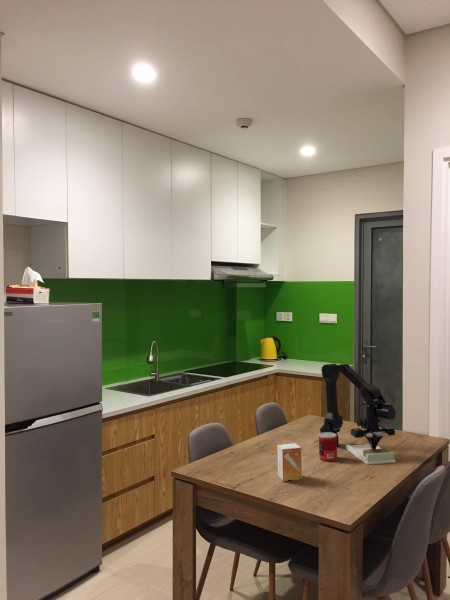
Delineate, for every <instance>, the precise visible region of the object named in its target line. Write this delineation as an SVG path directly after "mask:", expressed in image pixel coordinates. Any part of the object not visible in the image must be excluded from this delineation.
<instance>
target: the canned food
mask: <svg viewBox="0 0 450 600" xmlns="http://www.w3.org/2000/svg"><path fill="white" fill-rule="evenodd" d="M318 453H319V455H318V457H319V460H320V461H322V462H327V463H329V462H330V463H332V462H335V461H337V459H338V447H337V436H336V434H335V433H330V432H324V433H321V432H320V433H319V434H318Z"/></svg>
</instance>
